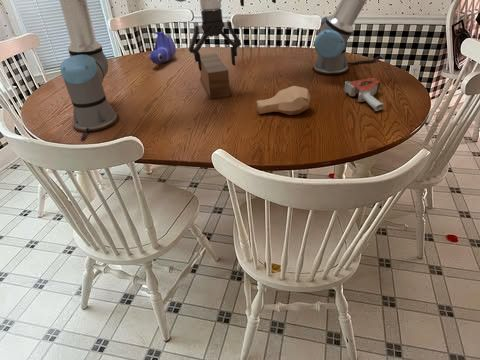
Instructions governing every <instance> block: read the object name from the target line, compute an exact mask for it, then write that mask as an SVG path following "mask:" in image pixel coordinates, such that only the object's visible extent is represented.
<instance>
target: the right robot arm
mask: <svg viewBox="0 0 480 360" xmlns="http://www.w3.org/2000/svg"><path fill="white" fill-rule="evenodd" d="M367 1H368V0H340V1H339V3H338V5H337V7H336V8H335V10H334V12H333V13H332V14H331V15H328V16H327V15H326V16H324V17H322V18H321V22H320V25H321V26H320V30H319V32H318V34H317V35H316V37H315V39H314V50H315V53H316V54H317V56H316V60H315V61H314V62H313V71H314V72H316V73H317V74H320V75H324V76H325V75H326V76H339V75H343V74H345V73H347V72H348V68H349V65H350V66H351V65H357V64H364V63H374V62H376V61H377V60H378V59H380V60H383V57H382V56H381V55H377V56H376V57H375V58H373V59H368V60H367V59H366V60H357V61H353V62H350V61H349V62H348V58H347V53H346V51H347V42H348V40H349V39H350V38H351V36H352V34H353V32H354V26H353V24H354V23H355V22H356V21H357V18H358V16H359V15H360V13H361V11H363V8H364V7H365V4H366V3H367ZM271 2H272V3H273V4H276V3H277V0H271ZM239 4H240V6H241V7H245V0H240V3H239Z"/></svg>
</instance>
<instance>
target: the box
mask: <svg viewBox="0 0 480 360" xmlns="http://www.w3.org/2000/svg"><path fill="white" fill-rule="evenodd" d="M200 60H201V68H202V70H201V71H200V70H199V73H200V80H201V82H202V84H203V86H204V88H205V90H206V92H207V94H208V96H209V98H210V100H213V99H220V98H226V97H231V91H230V88H231V87H230V77H229V76H230V75H229V69H228V68H227V66H226V64H224V62H223V61H222V59H221V58H220V57H219V55H218V53H217V52H214V53H206V54H200Z"/></svg>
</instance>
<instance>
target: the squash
mask: <svg viewBox="0 0 480 360" xmlns="http://www.w3.org/2000/svg"><path fill="white" fill-rule="evenodd" d="M311 98H312V97H311V95H310V90H309V89H307V88H306V87H302V86H298V85H292V86H289V87H287V88H283V89H280V90H279V91H277V92H276V94H275V95H274V96H272V97H271V98H265V99H257V100H256V102H255V103H256V107H257V109H256V110H257V113H258V114H259V115H263V114H266V113H273V112H275V113H282V114H284V115H287V116H295V115H300V114H301V113H303V112H305V111H306V110H308V109H309V107H310V102H311Z"/></svg>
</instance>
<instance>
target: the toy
mask: <svg viewBox="0 0 480 360" xmlns="http://www.w3.org/2000/svg"><path fill="white" fill-rule="evenodd" d="M153 34H154V35H157V36H156V38H155V42H154V50H152V51H150V53H149V56H148V58H149V60H150V61H151V62H152V63H153V64H155V65H156V68H157V69H159V67H160V64H163V63H166V62H169V61H170V60H172V59H173V58H174V57H175V55H176V51H177V49H176V44H175V42H174V40H173V38H172V37H171V36H170V35H168V36H167V35H166V34H165V33H164V32H163V31H160V32H159V31H155V32H154V33H153Z"/></svg>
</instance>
